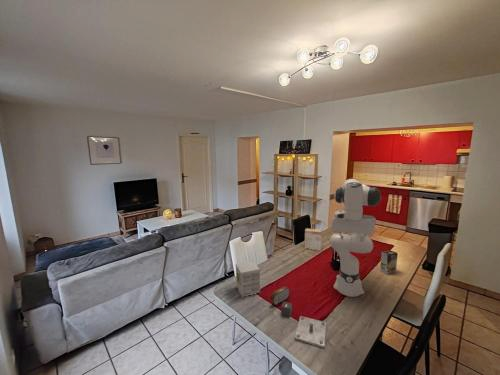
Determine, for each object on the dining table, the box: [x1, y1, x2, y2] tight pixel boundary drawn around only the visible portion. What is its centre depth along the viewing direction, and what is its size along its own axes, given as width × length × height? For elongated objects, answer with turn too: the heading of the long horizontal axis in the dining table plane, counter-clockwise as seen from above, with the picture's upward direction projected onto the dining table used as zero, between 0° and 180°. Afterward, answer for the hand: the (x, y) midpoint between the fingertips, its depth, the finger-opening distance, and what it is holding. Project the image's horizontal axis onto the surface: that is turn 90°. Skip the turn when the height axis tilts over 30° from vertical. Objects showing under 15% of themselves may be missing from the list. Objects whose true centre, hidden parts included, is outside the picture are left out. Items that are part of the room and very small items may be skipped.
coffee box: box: [379, 249, 398, 275], centre depth 170 cm, size 9×6×16 cm
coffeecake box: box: [304, 227, 323, 251], centre depth 214 cm, size 15×7×20 cm, turn 66°
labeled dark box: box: [280, 301, 293, 318], centre depth 129 cm, size 5×5×6 cm
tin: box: [270, 286, 291, 306], centre depth 139 cm, size 15×3×8 cm, turn 127°
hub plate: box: [294, 315, 327, 349], centre depth 115 cm, size 16×14×4 cm
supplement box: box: [235, 260, 261, 298], centre depth 151 cm, size 13×13×18 cm
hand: (351, 240), depth 115 cm, fingers open, 8 cm apart
